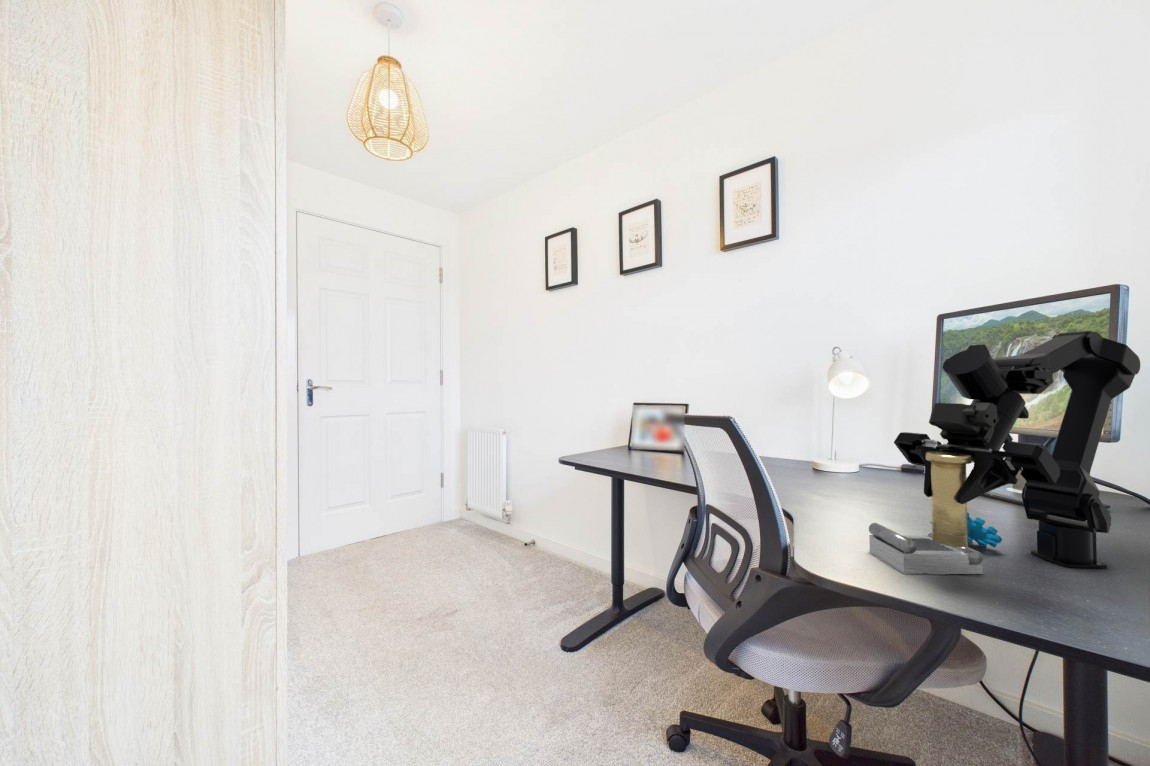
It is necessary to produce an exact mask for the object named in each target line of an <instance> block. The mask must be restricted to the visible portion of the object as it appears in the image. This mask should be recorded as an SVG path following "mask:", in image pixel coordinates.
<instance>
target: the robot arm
mask: <svg viewBox="0 0 1150 766" xmlns="http://www.w3.org/2000/svg"><path fill="white" fill-rule="evenodd" d="M942 369H943V372H944V373H945V374H946V376H947V377H948V378H949V379H948V380H950V381H951V383H952V384H953V386H954V388H955V389H956V390H957V391H958V394H960V396H961V397H962V398H965V399H968V400H972V401H971V403H970V404H966V403H954V402H953V403H949V402H947V403H946V402H944V403H943V402H935V403H933V406H932V409H931V413H930V418H929V420H928V424H930V425H931V426H935V427H937V428H938V429H940V430H941V431H940V433H939V435H940V437H941V438H942V439H943V440H947V443H942V442H940V441H939V440H936V439H931V438H930V436H929V435H928V434H927V433H919V432H918V433H917V432H907V431H906V432H905V431H902V432H899V434H897V436H896V438H895V439H894V441H893V444H894V445H895V446H896V448H897V450H899V452H900V453H901V454H902V456H903V457H904V459H906V461H907V462H908V463H910V464H911V465H913V466H920V467H924V477H923V478H924V479H923V480H924V483H923V494H924V495H925V497H927V498H931V461H928V460H926V452H953V453H962V454H968V455H971V458H972V463H973V468H972V469H971V470H970V473H969V474H968V476H967V477H966V481H965V483H964V484H963V486H962V488H961V489H960V491H959V494H958V496H957V501H958V502H959V503H960V504H965V503H967V504H968V502H971V501H972V500H975V499H976V498H978V497H981V496H983V495H984V494H987V493H989V492H992V491H994V490H996V489H1000V488H1001V487H1004V486H1006V485H1017V484H1018V482H1019V480H1018V478H1017V475H1018V474H1019V472H1020V474H1019V475H1020V476H1021V477H1022V478H1023V479H1024V481H1025V483H1024V486H1023V488H1022V491H1021V499H1022V503H1023V507H1024V511H1025V516H1026V518H1027V519H1028V520H1035V521H1038V529H1037V531H1036V549H1030V554H1032V555H1035V556H1038V557H1040V558H1043V559H1046V560H1048V561H1050V562H1053V563H1055V564H1058V565H1060V566H1063V567H1067V568H1095V569H1096V568H1098V569H1099V568H1107V569H1108V568H1109V565H1108V564H1107V563H1104V562H1101V561H1098V558H1097V557H1098V555H1097V552H1098V551H1097V548H1098V547H1097V533H1103V534H1109V533H1110V529H1111V526H1112V516H1111V514H1110V513H1109V511H1108V510H1107V508H1106V507H1105V505H1104V504H1103V502H1102V501H1101V499H1100V493H1101V491H1100V489H1099V488H1098V486H1097V485H1096V483H1095V481H1094V479H1093V478H1092V476H1091V470H1092V467H1093V463H1094V461H1095V457H1096V454H1097V449H1098V447H1099V443H1100V439H1101V436H1102V433H1103V429H1104V428H1105V427H1104V426H1105V423H1106V419H1107V416H1108V413H1109V412H1108V411H1109V409H1110V406H1111V402H1112V400H1114V398H1116V397H1117V396H1119V395H1121V394H1122V393H1124V392H1125V391H1127V390H1128V389H1130V388H1131V385H1132V384H1133V381H1134V379H1135V377H1136V375H1138V374H1139V372H1140V370H1141V360H1140V358H1139V355H1137V353H1135V351H1133V350H1132V348H1130V347H1129V346H1128V345H1127V344H1125V343H1122V342H1119V341H1116V340H1112V339H1108V338H1105V337H1103V336H1102V335H1101V333H1099V332H1097V331H1092V330H1081V331H1069V332H1068V331H1067V332H1061V333H1058V334H1055V335H1053V336H1052V338H1051V339H1049V340H1047V341H1045V342H1043V343H1041V344H1039V345H1038V346H1036V347H1033V348H1031V349H1029V350H1027V351H1025V352H1023V353H1021V354H1017V355H1011V356H1002V357H997V358H993V357H992V354H991V353H990V351H989V349H988V347H987V346H986V344H974V345H973V344H971V345H968V347H967V349H965V350H961V351H960V352H959V351H958V352H957V353H955V354H953V355H952V356H950V357H949V358H946V359H945V360H944V361H943V364H942ZM1059 371H1061V372H1062V373H1063V374H1062V377H1063V379H1064V380H1065V381H1066V383H1067V385H1068V387H1069V388H1070V390H1071V392H1070V395H1069V398H1068V400H1067V404H1066V407H1065V411H1064V414H1063V417H1062V419H1061V420H1062V421H1061V424H1060V427H1059V430H1058V433H1057V437H1056V440H1055V442H1054V445H1053V448H1052V452H1051V453H1050V450H1049V449H1048V448H1047V447H1046V446H1045V445H1044V444H1043V443H1032V442H1031V443H1030V442H1022V441H1021V442H1019V441H1013V440H1014V438H1013V437H1012V435H1011V434H1010V432H1011V431H1012V429H1013V428H1014V426H1015V424H1016V422H1017V420H1018V419H1029V417H1030V415H1029V411H1028V409H1027V408H1026V401H1025V399H1024V398H1023V396H1022V395H1039V394H1042V393H1043V392H1045V391H1046V390H1047V389H1048V388H1049V387H1050V386H1051V385H1052V384H1054V378H1053V376H1054V374H1055V373H1057V372H1059ZM1001 448H1002V449H1003V451H1002V450H1001Z"/></svg>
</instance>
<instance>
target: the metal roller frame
mask: <svg viewBox="0 0 1150 766" xmlns="http://www.w3.org/2000/svg"><path fill="white" fill-rule="evenodd" d="M868 531H869V533H870V534H869V554H871V555H872V556H874V557H876V558H877V559H879V560H880V561H882V562H884V564H887V565H888V566H890V567H891V568H893V569H895V570H897V571H898V572H900V573H901V574H903V575H916V574H915V573H928V574H927V575H945V574H984V571H983V570H984V569H983V568H984V567H983V564H982V563H983V560H984V556H983V554H982V552H980V551H978V550H975V549H973V548H972V547H969V546H966V547H952V546H946V545H942V544H939V543H936V542H934V541H933V540H932V532H930V533H928V535H904V534H903V535H901V534H900V533H898V532H896V531H894V530H891V529H890V528H887V527H885V526H884V525H881V524H879V523H878V522H873V523H870V524H869V526H868Z"/></svg>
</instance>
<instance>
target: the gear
mask: <svg viewBox="0 0 1150 766" xmlns="http://www.w3.org/2000/svg"><path fill="white" fill-rule="evenodd" d="M929 523H930V524H931V525H932V519H931V520H930V522H929ZM985 523H986V521H985V519H983V518H980V517H978V516H976V517H975V519H974V520H973V519H972V518H971V517H970V513H969V511H967V539H968V541H969V542H968V543H972V542H973V541H975V542H976V543H977V544H978V545H979V546H980V545H983V546H982V547H987V545H989V546H991V547H993V548H996V547H997V545H998V544H1001V542H1002V541H1003V539H1002V536H1001V535H998V533H999V532H998V530H997V528H994V527H993V526H991V525H990V526H988V527H987V528H986V527H984V525H985Z"/></svg>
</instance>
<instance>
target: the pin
mask: <svg viewBox="0 0 1150 766" xmlns="http://www.w3.org/2000/svg"><path fill="white" fill-rule="evenodd" d="M926 460H928V461H931V497H930V499H931V520H932V524H931V533H932V540H933V541H934V542H936V543H939V544H942V545H946V546H952V547H966V546H967V547H969V546H968V545H969V544H968V543H969V542H968V539H967V512H968V502H967V503H965V504H960V503H959V502H958V501H957V496H958V494H959V491H960V489H961V488H962V486H963V484H964V483H965V481H966V479H967V464H968V465H969V464H972V463H973V462H972V458H971V455H968V454H962V453H953V452H926Z"/></svg>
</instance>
